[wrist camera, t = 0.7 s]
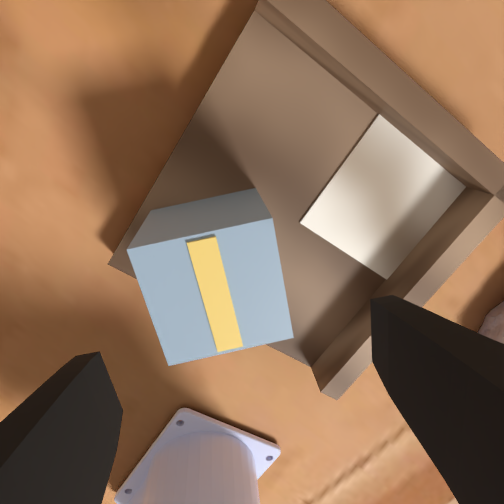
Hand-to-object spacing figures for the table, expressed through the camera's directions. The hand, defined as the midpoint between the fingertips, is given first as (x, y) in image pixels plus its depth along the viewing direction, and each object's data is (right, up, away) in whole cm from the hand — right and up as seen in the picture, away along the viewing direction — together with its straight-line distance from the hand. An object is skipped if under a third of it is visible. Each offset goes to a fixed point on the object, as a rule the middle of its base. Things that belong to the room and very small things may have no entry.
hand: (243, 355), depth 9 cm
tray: (+3, +5, +9) cm, 11 cm away
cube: (-2, +3, +8) cm, 9 cm away
